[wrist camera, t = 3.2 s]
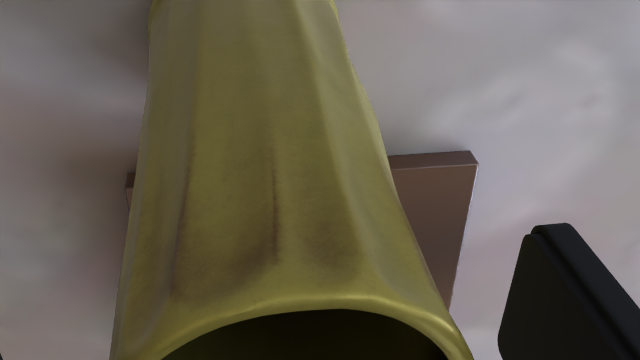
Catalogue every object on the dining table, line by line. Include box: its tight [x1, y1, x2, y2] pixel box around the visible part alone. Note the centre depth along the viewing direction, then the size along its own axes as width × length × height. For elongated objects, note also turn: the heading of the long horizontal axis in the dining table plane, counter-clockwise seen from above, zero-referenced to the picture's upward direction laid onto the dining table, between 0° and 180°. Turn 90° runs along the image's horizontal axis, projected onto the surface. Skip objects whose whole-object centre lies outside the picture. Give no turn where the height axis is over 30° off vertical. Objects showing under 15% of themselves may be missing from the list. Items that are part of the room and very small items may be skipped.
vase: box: [109, 0, 474, 360], centre depth 14 cm, size 6×6×14 cm
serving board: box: [125, 151, 479, 312], centre depth 28 cm, size 20×13×1 cm, turn 179°
